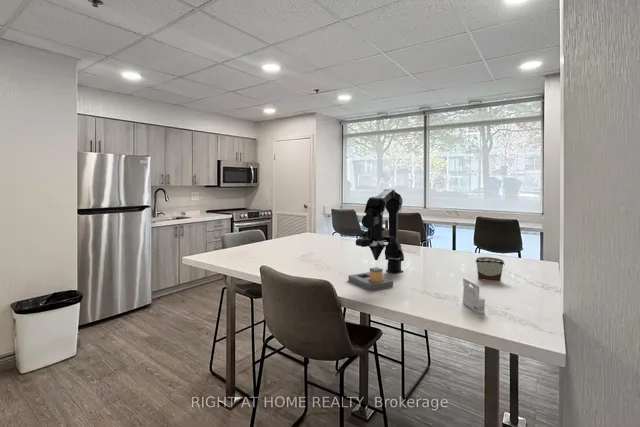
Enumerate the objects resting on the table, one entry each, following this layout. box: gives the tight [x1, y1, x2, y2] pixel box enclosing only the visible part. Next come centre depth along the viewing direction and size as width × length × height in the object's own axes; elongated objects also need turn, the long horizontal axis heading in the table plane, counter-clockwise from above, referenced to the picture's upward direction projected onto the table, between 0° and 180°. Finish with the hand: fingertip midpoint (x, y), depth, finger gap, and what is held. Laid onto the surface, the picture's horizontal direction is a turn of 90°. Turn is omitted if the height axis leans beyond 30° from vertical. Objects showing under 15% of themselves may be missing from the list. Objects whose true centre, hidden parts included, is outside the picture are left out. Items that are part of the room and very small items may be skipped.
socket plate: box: [348, 271, 394, 292], centre depth 152 cm, size 12×18×2 cm, turn 28°
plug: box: [369, 266, 383, 283], centre depth 148 cm, size 4×4×8 cm
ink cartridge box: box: [462, 278, 486, 314], centre depth 121 cm, size 2×11×10 cm, turn 5°
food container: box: [475, 256, 505, 283], centre depth 158 cm, size 12×6×10 cm, turn 65°
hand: (376, 259), depth 148 cm, fingers closed
